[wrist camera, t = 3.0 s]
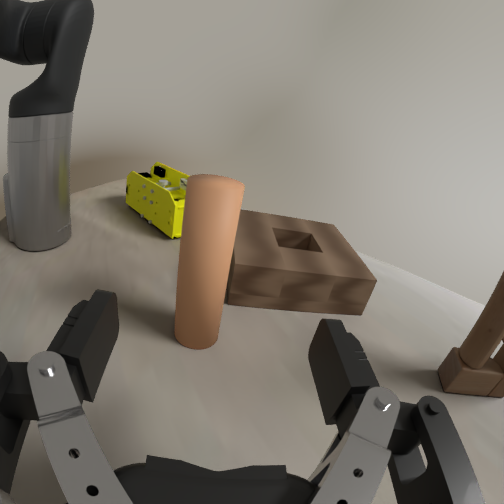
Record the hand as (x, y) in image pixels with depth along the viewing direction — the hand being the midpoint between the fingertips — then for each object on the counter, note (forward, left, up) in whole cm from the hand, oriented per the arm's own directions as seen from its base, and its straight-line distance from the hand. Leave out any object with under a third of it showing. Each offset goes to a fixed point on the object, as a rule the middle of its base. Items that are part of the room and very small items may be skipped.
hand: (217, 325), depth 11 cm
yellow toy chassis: (-9, +37, -12) cm, 40 cm away
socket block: (+10, +25, -12) cm, 29 cm away
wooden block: (+29, +4, -12) cm, 32 cm away
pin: (-1, +12, -12) cm, 17 cm away
